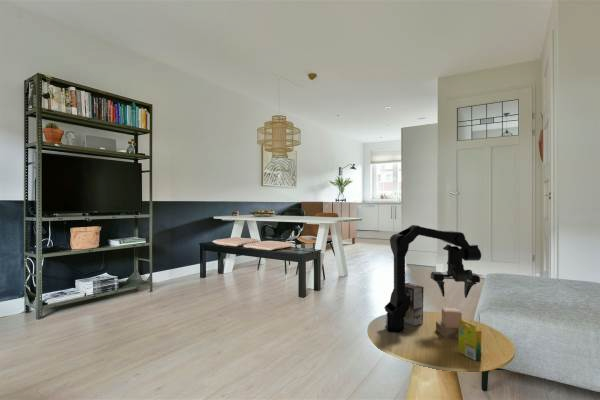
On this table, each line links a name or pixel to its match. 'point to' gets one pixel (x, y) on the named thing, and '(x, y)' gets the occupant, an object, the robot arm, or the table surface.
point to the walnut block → (447, 331)
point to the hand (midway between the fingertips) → (454, 297)
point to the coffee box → (414, 304)
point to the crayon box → (469, 341)
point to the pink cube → (451, 317)
